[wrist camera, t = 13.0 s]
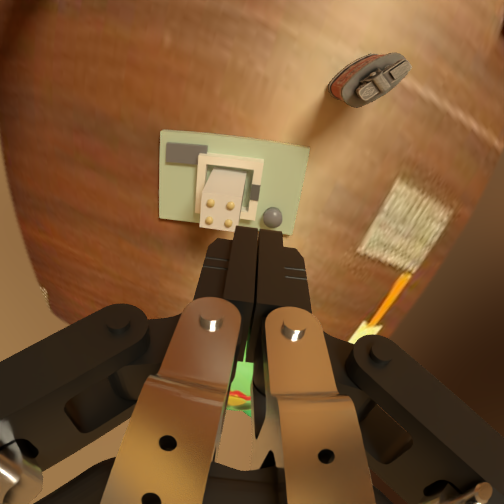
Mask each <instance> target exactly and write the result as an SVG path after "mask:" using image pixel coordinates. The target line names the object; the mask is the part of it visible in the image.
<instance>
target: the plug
mask: <svg viewBox="0 0 504 504" xmlns="http://www.w3.org/2000/svg"><path fill="white" fill-rule="evenodd" d="M246 173H247V171H241V170H234V169H226V168H218V167H214V168H213V170H212V172H211V174H210V176H209V178H208V181H207V183H206V185H205V187H204V189H203V191H202V198H201V212H200V227H203V228H210V229H217V230H224V231H231V232H235V227H236V225H237V226H238V225H239V220H240V214H241V208H242V202H243V196H244V190H245V183H246Z"/></svg>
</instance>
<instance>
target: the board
mask: <svg viewBox="0 0 504 504" xmlns="http://www.w3.org/2000/svg"><path fill="white" fill-rule="evenodd" d="M309 152H310V148H309V147H307V146H301V145H295V144H289V143H283V142H277V141H270V140H263V139H256V138H248V137H240V136H231V135H222V134H212V133H202V132H190V131H176V130H162V131H160V162H159V218H162V219H171V220H179V221H187V222H195V223H200V212H201V198H202V191H203V189H204V187H205V185H206V183H207V181H208V178H209V176H210V174H211V172H212V170H213V168H214V167H218V168H226V169H234V170H241V171H247V173H246V183H245V190H244V196H243V202H242V208H241V214H240V220H239V225H238V226H245V227H252V228H258V231H259V229H268V230H275V231H282V234H287V235H292V233H293V228H294V224H295V219H296V215H297V210H298V205H299V201H300V196H301V191H302V187H303V182H304V177H305V172H306V167H307V162H308V157H309Z"/></svg>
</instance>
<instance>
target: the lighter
mask: <svg viewBox="0 0 504 504" xmlns="http://www.w3.org/2000/svg"><path fill="white" fill-rule="evenodd" d="M411 68H412V66H411V64H410V63H409V61H408V60H406V59H405V57H404V56H402V55H401V54H399V53H389V54H386V55H378V54H368V55H366V56H364V57H361V58H359V59H357V60H355V61H353V62H352V63H350V64H348V65H347V66H346V67H345V68H343V69H342V70H341V71H340V72H339V73H338V74H337V75H336V76H335V77H334V78H333V79H332V80H331V81H330V82H329V84H328V90H329V93H330V94H331V95H332V96H333V97H334V98H336V99H338V100H343V101H344V102H345V103H346V104H348V105H350V106H352V107H355V108H358V107H362V106H364V105H366V104H368V103H370V102H373V101H375V100H376V99H378V98H380V97H381V96H383V95H385V94H386V93H388V92H389V91H390V90H391V89H393V88H394V87H395V86H396V85H397V84H398V83H399V82H400V81H401V80H402V79H403V78H404V77H405V76H406V75H407V73H408V72H409V71H410V70H411Z"/></svg>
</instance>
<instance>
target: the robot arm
mask: <svg viewBox="0 0 504 504" xmlns="http://www.w3.org/2000/svg"><path fill="white" fill-rule="evenodd" d="M257 238H258V240H257ZM246 342H247V345H246ZM245 348H246V359H245V362H249V363H253V376H252V380H251V384H250V395H251V422H252V451H251V460H250V471H240V470H236V469H233V468H230V467H227V466H225V465H222V464H219V463H216V461H217V456H218V450H219V444H220V439H221V434H222V429H223V424H224V419H225V414H226V409H227V404H228V399H229V394H230V389H231V384H232V382H233V380H234V378H235V374H236V368H237V362H238V361H239V362H243V359H244V353H245ZM377 404H378V405H379V406H380V407H381V408H382V409H383V410H384V411H385V412H387V413H388V414H389V415H390V416H391V417H392V418H393V419H394V420H395V421H397V423H399V424H400V425H401V426H402V427H403V428H404V429H405V430H406V431H407V432H406V431H405V430H403V429H402V428H401V427H400V426H399V425H398V424H397V423H396V422H395V421H394V420H393V419H392V418H391V417H389V416H388V415H387V414H386V413H385V412H384V411H383V410H382V409H381V408H380V407H379V406H378V405H377ZM130 417H131V419H130V421H129V424H128V427H127V429H126V432H125V435H124V437H123V440H122V443H121V445H120V448H119V451H118V454H117V456H116V457H114V458H110V459H108V460H104V461H102V462H100V463H98V464H96V465H94V466H92V467H90V468H89V469H87V470H86V471H84V472H83V473H81V474H80V475H78V476H77V477H76V478H74V479H72V480H71V481H69V482H68V483H66V484H64V485H63V486H61V487H60V488H58V489H57V490H55V491H54V492H52V493H50V494H49V495H47V496H46V497H44V498H42V499H40V500H39V501H37V502H36V503H34V504H393V503H392V502H391V501H390V500H389V499H388V498H387V497H386V496H385V495H384V494H383V493H382V492H381V491H380V490H378V489H377V488H376V487H374V486H373V485H372V481H371V476H370V471H369V468H370V469H371V470H372V471H374V472H375V473H376V474H377V475H378V476H379V477H380V478H381V479H382V480H383V481H384V482H385V483H386V484H387V485H388V486H389V487H391V488H392V489H393V490H394V491H395V492H396V493H397V494H398V495H399V496H400V497H402V498H403V499H404V500H405V501H406V502H407V503H408V504H504V438H503V437H502V436H501V435H500V434H499V433H498V432H496V430H494V429H493V428H492V427H491V426H490V425H489V424H487V422H485V421H484V420H483V419H482V418H481V417H480V416H479V415H478V414H476V413H475V412H474V411H473V410H472V409H471V408H470V407H469V406H467V405H466V404H465V403H464V402H463V401H462V400H460V399H459V398H458V397H457V396H456V395H455V394H454V393H452V392H451V391H450V390H449V389H448V388H447V387H446V386H444V385H443V384H442V383H441V382H440V381H439V380H437V379H436V378H435V377H434V376H433V375H432V374H431V373H429V372H428V371H427V370H426V369H425V368H423V367H422V366H421V365H420V364H419V363H418V362H416V361H415V360H414V359H413V358H412V357H411V356H410V355H408V354H407V353H406V352H405V351H404V350H402V349H401V348H400V347H399V346H398V345H396V344H395V343H394V342H393V341H391V340H390V339H388V338H386V337H383V336H380V335H366V336H363V337H361V338H359V339H358V340H357V342H356V343H355V344H352V343H349V342H346V341H343V340H340V339H337V338H334V337H332V336H330V335H328V334H327V333H325V332H324V331H323V330H322V326H321V324H320V322H319V321H318V319H317V318H316V317H315V316H314V315H312V311H311V303H310V296H309V289H308V283H307V276H306V271H305V263H304V258H303V257H302V256H301V254H300V253H299V252H298V250H297V249H296V248H288V247H283V236H282V231H275V230H268V229H259V234H258V228H252V227H245V226H237V225H236V227H235V233H234V238H233V240H227V239H220V238H217V239H216V240H215V241H214V242H213V243H212V244H210V245H209V246H208V250H207V253H206V257H205V260H204V264H203V267H202V271H201V274H200V278H199V281H198V285H197V288H196V292H195V296H194V299H193V301H192V302H190V303H189V304H187V305H186V307H185V308H184V310H183V312H182V313H181V314H179V315H176V316H173V317H169V318H161V319H150V320H147V317H146V315H145V314H144V312H143V311H142V310H140V309H139V308H137V307H135V306H133V305H129V304H113V305H110V306H107V307H105V308H103V309H101V310H99V311H97V312H95V313H93V314H91V315H89V316H87V317H85V318H83V319H81V320H79V321H77V322H75V323H73V324H71V325H70V326H68V327H66V328H64V329H62V330H60V331H58V332H56V333H54V334H52V335H50V336H48V337H47V338H45V339H43V340H41V341H39V342H37V343H35V344H33V345H31V346H30V347H28V348H26V349H24V350H22V351H20V352H18V353H16V354H14V355H13V356H11V357H9V358H7V359H5V360H3V361H1V362H0V504H29V503H30V501H32V500H33V499H34V498H35V497H36V496H37V495H38V494H39V493H40V492H41V491H42V485H43V475H42V472H43V471H45V470H46V469H48V468H50V467H51V466H53V465H55V464H57V463H58V462H60V461H62V460H63V459H65V458H67V457H69V456H70V455H72V454H74V453H75V452H77V451H78V450H80V449H81V448H83V447H85V446H87V445H88V444H90V443H92V442H93V441H95V440H96V439H98V438H99V437H101V436H103V435H104V434H105V433H107V432H109V431H111V430H112V429H113V428H115V427H117V426H118V425H120V424H121V423H123V422H124V421H126V420H127V419H129V418H130Z"/></svg>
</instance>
